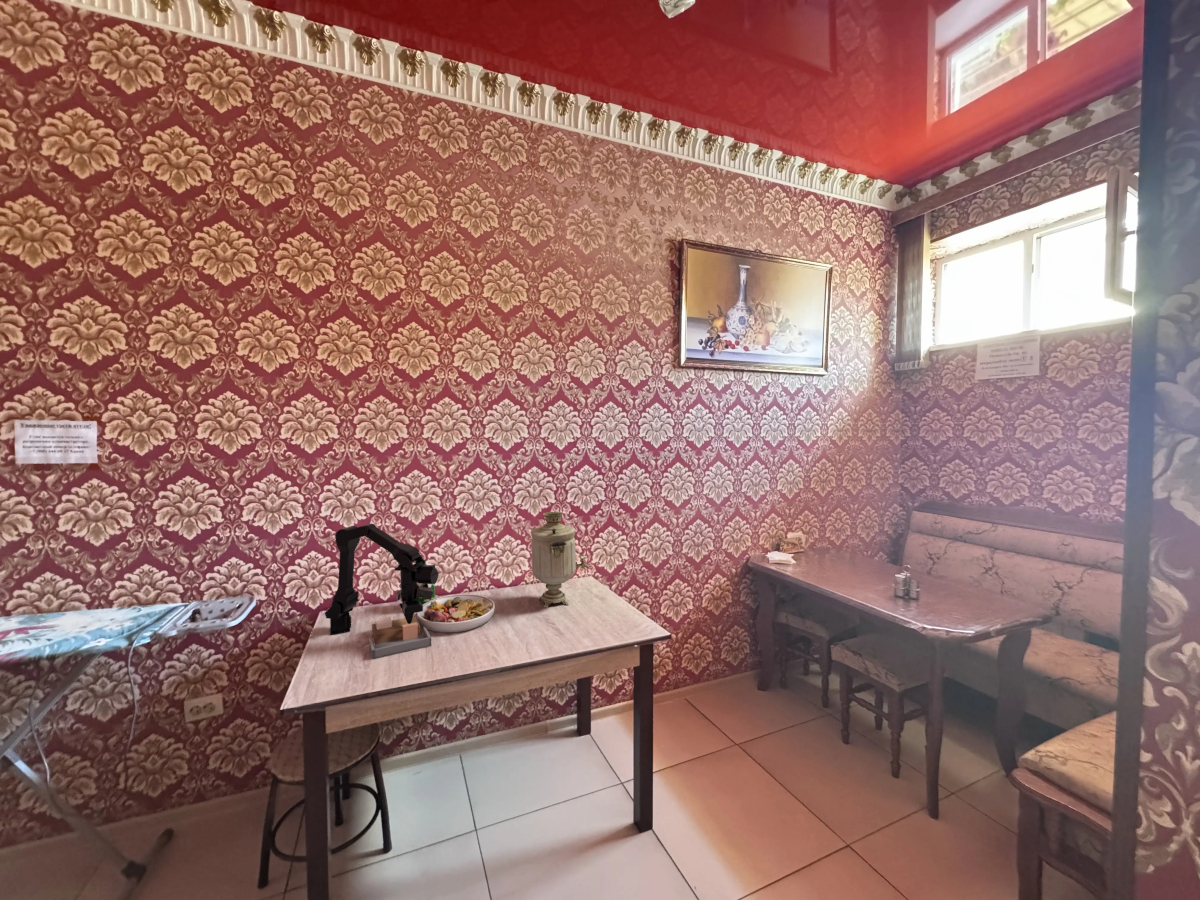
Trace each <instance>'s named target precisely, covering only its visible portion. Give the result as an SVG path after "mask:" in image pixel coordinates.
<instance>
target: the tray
mask: <svg viewBox="0 0 1200 900" xmlns="http://www.w3.org/2000/svg"><path fill="white" fill-rule="evenodd" d="M422 632H423V633H422V634H420V635H418V638H414V639H409V640H405V641H403V639H398V640H394V641H389V642H384V643H379V644H375V643H374V641H373V639H372V638H373V637H372V638H371V637H370V638H369V639H368V648H369V654H370V655H371V656H370V657H371V659H372V660H377V659H380V658H384V657H388V656H392V655H397V654H403V653H407V652H411V651H414V650H415V651H416V650H419V649H424V648H429V647H432V636H431V635H430V633H429V631H428V629H427V628H426V627H423V629H422Z"/></svg>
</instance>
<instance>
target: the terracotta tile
mask: <svg viewBox="0 0 1200 900" xmlns="http://www.w3.org/2000/svg"><path fill="white" fill-rule="evenodd" d="M414 638H418V624H417V622H416V623H411V624H406V625H402V639H403V641H405V640H409V639H414Z"/></svg>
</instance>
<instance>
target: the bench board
mask: <svg viewBox="0 0 1200 900" xmlns="http://www.w3.org/2000/svg"><path fill="white" fill-rule="evenodd" d="M391 621H392V627H389V628H384V629H379V630H377V628H376V625H375V623H372V624H371V634H372V638H373V639H372V640H373V644H374V645H375V644H379V643H384V642H389V641H394V640H398V639H402V625H406V624H408V623H407V621H406V619H405V617H403V618H398V619H397V618H396V619H393V620H392V619H391ZM416 622H417V624H418V635H421V626H420V625H421V624H420V622H419V621H418V619H417V617H416V616H415V615H413V619H412V622H411V623H416Z"/></svg>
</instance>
